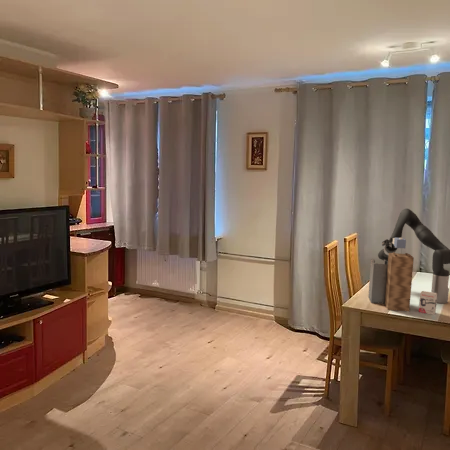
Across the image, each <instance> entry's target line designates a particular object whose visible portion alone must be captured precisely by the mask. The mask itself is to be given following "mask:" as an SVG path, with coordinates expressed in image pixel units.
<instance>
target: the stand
mask: <svg viewBox="0 0 450 450" xmlns="http://www.w3.org/2000/svg"><path fill="white" fill-rule="evenodd" d="M413 270H414V257H413V256H412V254H410V253H408V252H405V253H396V252H393V253H389V255H388V269H387V282H386V296H385V304H384V306H385V308H386V309H387V311H396V310H397V312H399V311H400V312H410V308H411V307H410V306H411V295H412V285H413Z"/></svg>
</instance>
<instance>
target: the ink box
mask: <svg viewBox="0 0 450 450" xmlns="http://www.w3.org/2000/svg"><path fill="white" fill-rule="evenodd" d="M436 301H437V293H433V292H431V291H425V290H422V291H420V293H419V303H418V304H419V305H418V313H422V314H423V313H424V314H429V315H433V316H434V315H436V309H437V303H436Z"/></svg>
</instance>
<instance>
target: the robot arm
mask: <svg viewBox="0 0 450 450" xmlns="http://www.w3.org/2000/svg"><path fill="white" fill-rule="evenodd" d="M405 225H407V226H408V227H409V228H410V229H411V230H413V231H414V234H415V237H416V238H417V239H418V240H419V241H420V243H421V244H422V245H424V246H426V247H427V248H428V249H429V248H430V249H431V250H433V254H432V257H431V258H432V259H431V260H432V264H431V268H432V280H431V281H432V282H431V291H430V292H433V293H437V301H436V304H448V303H449V302H448V301H449V291H450V288H449V278H450V271H449V270H448V269H446V268H445V267H444V265H448V264H449V265H450V248H448V247H447V246H446V245H445V244H444V243H443V242H441V241H440V239H439V238H438V237H437V236H436V235H435V234H434V233H433V232H432V230H431V229H430V228H428V227H427V226H426V225H425V224H424V223H423V222H422V221H421V220H420V219H419V217H418V215H417V214H416V213H415V212H414V211H413V210H411V209H410V208H404V209H402V210H401V211H400V212H399V216H398V218H397V221H396V223H395V226H394V228H393V230H392V231H393V232H392V234H391V236H390V237H389V239H384V240H383V241H382V242H381V246H382V247H384V248H382V249H380V251H378V253H377V257H378V258H379V260H381V261H384V260H388V255H389V253H393V252H395V253H396V252H397V250H398V248H396V247H395V246H394V244H393V243H392V241H393V238H403V231H404V228H405Z"/></svg>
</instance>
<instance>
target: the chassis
mask: <svg viewBox="0 0 450 450" xmlns="http://www.w3.org/2000/svg"><path fill="white" fill-rule="evenodd" d="M382 261H383V260H382ZM387 269H388V260H384V261H383V262H382V263H377V262H376V260H375V258H372V259H370V270H369V283H368V296H367V297H368V299H369V301H370V303H371V304H380V305H385V296H386V282H387Z"/></svg>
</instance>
